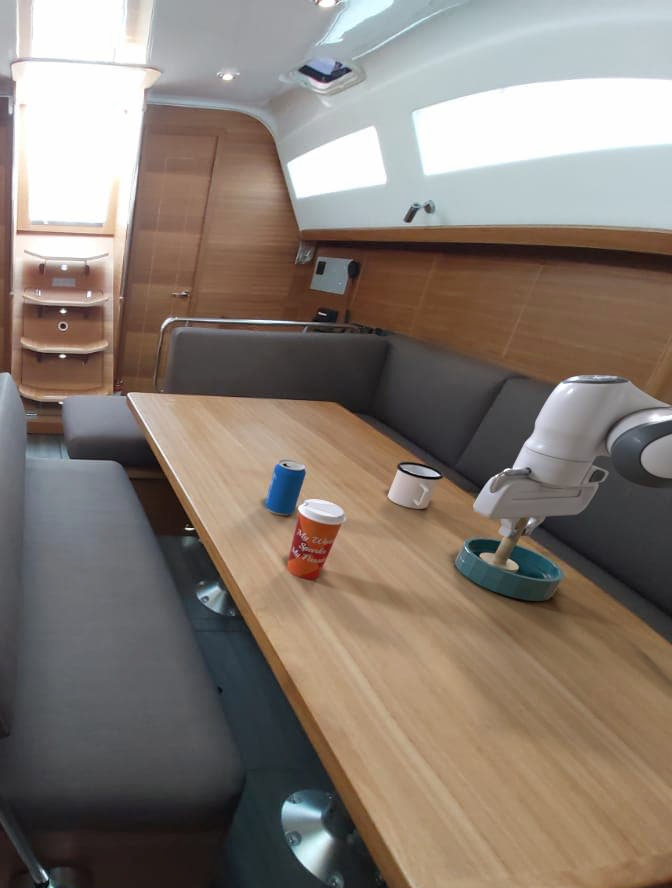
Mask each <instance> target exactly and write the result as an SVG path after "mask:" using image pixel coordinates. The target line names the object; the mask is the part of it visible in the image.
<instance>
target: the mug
mask: <svg viewBox="0 0 672 888" xmlns="http://www.w3.org/2000/svg"><path fill="white" fill-rule="evenodd" d="M396 469H397V471H396V473H395V476H394V478H393V481H392V484H391V486H390V488H389V492H388V494H387V498H388V499H389V500H390V501H391V502H392V503H394V504H396V505H399V506H401V507H404V508H408V509H412V510H422V509H426V508H427V507H428V506H429V504H430V502H431V498H432V497H433V495H434V492H435V489H436V487H437V485H438V482H439V480H442V479H444V476H445V475H444V472H443V471H441V470H440V469H438V468H436V467H434V466H431V465H428V464H425V463H422V462H421V463H420V462H414V461H399V462H397V464H396Z"/></svg>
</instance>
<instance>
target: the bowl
mask: <svg viewBox="0 0 672 888" xmlns="http://www.w3.org/2000/svg"><path fill="white" fill-rule="evenodd" d="M502 540H503V539H495V538H491V537H479V536H478V537H477V536H476V537H470V538H467V539H466V540H465V541H463V543H462V545H461V547H460V549H459V552H458V553H457V556H456V558H455V560H454V565H455V566H456V569H457V570H458V572H460V573H461V574H463V575H464V576H465V577H466V578H467V579H469V580H471V582H474V583H476V585H479V586H480V587H482V588H484V589H486V590H489V591H491V592H493V593H496V594H498V595H502V596H506V597H509V598H513V599H516V600H517V599H518V600H523V601H530V602H531V601H532V602H543V601H547V600H550V599H551V598H552V597H553V595H554V594H555V593H556V591H557V590H558V587H559V586H560V584H561V583H562V581H563V580H564V578H565V573H564V570H563V569H562V568H561V567H560V566H559V565H558V564H557V563H556V562H554V560H551V559H550V558H548V557H547V556H545V555H543V554H541V553H538V552H537V551H535V550H532V549H530V548H528V547H524V546H522V545H519V544H516V546H515V548H514V549H513V551H512V553H511V555H510V557H509V559H510V560H512V561H514V562H515V563H516V564H517V565H518V566H519V569H518V571H517V572H516V573H515V574H514V573H511V572H508V571H505V570H503V569H500V568H498V567H495V566H493V565H491V564H489V563H487V562H485V561H484V560H482V559H480V558H479V555H480V554H481V553H493V554H495V553H496V551H497V549H498V547H499V545H500V543H501V541H502Z"/></svg>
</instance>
